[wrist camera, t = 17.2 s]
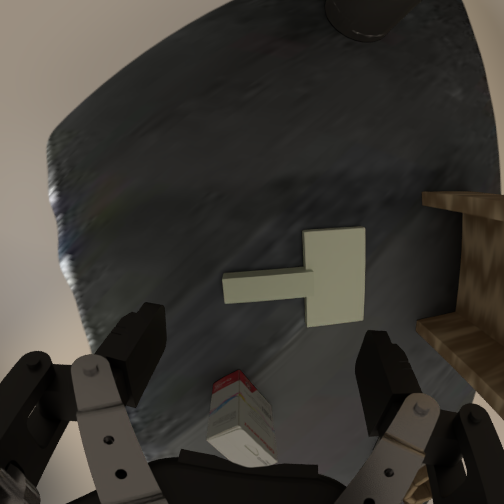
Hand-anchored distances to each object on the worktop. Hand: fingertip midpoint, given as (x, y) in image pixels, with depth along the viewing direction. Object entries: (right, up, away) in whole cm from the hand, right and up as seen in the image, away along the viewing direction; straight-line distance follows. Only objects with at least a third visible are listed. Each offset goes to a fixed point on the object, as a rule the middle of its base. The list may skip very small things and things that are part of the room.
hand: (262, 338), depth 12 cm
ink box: (-2, -17, +31) cm, 35 cm away
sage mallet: (+5, 0, +27) cm, 27 cm away
